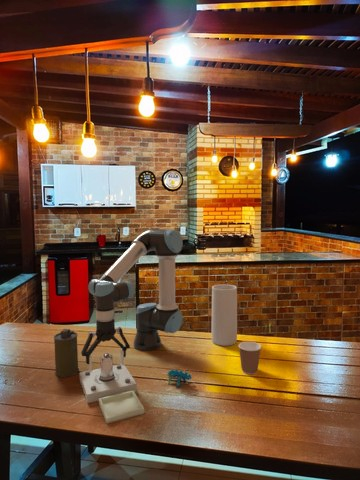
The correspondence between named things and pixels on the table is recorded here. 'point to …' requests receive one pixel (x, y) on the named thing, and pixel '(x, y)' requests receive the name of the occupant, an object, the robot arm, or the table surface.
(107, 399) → the parts tray
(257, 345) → the coffee cup
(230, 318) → the vase
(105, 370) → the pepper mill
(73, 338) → the canister
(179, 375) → the teal bumpy figure
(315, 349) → the table surface
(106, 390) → the bearing plate
